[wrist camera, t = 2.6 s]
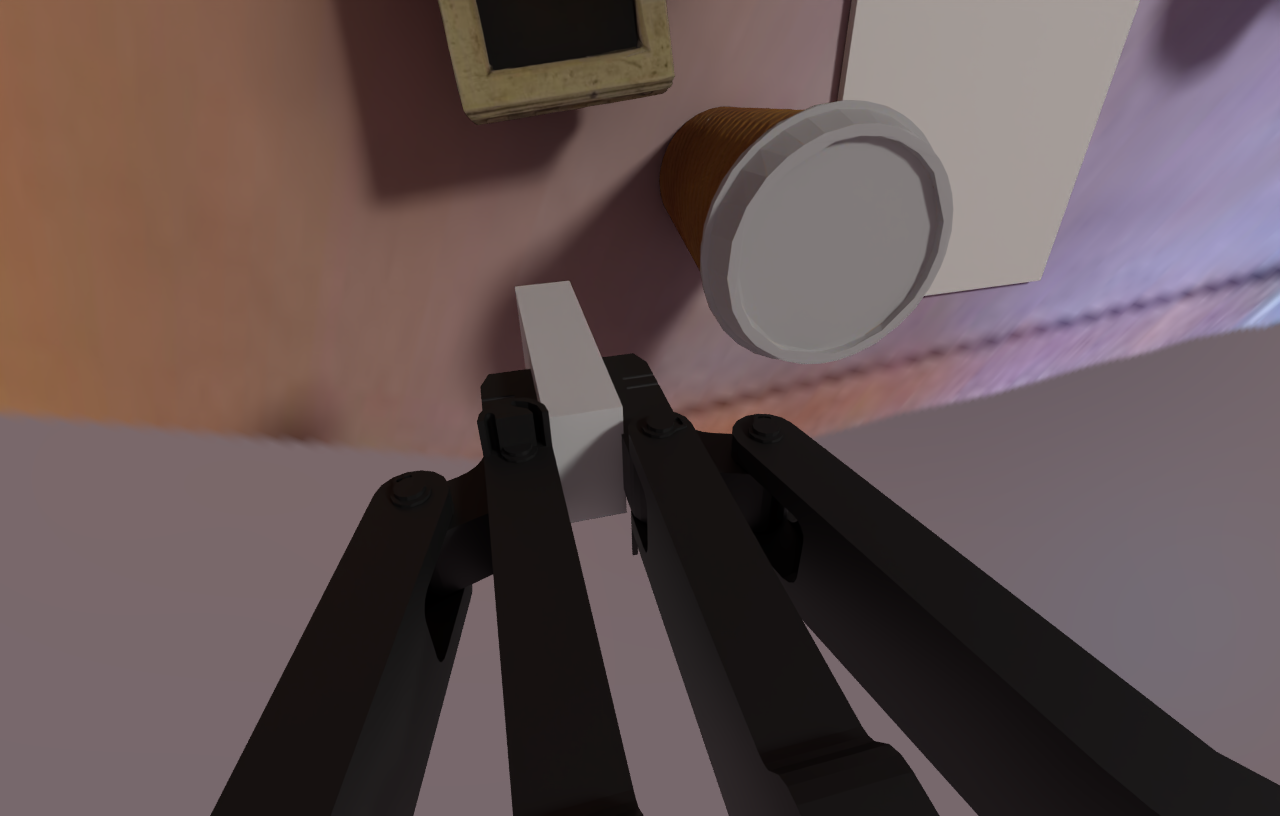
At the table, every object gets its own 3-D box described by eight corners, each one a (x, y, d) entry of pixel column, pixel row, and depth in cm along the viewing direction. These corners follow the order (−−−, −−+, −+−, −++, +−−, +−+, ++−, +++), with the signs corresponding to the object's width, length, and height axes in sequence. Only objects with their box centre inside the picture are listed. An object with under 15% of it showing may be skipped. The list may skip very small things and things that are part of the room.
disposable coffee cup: (587, 193, 30) (657, 286, 21) (721, 17, 28) (871, 32, 18) (717, 298, 35) (822, 414, 26) (841, 158, 33) (1009, 228, 23)
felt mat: (807, 307, 37) (811, 311, 37) (854, -20, 28) (860, -20, 28) (1034, 277, 41) (1040, 280, 40) (1139, -24, 32) (1148, -25, 31)
